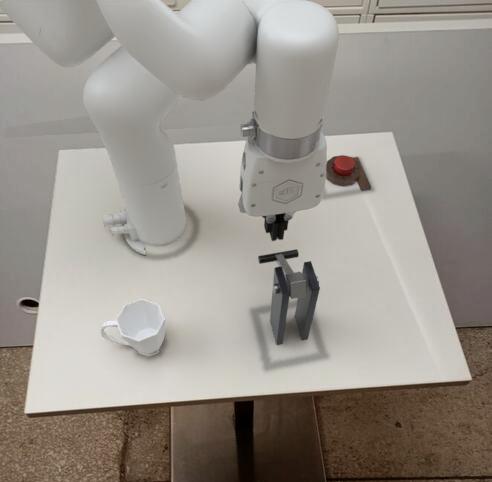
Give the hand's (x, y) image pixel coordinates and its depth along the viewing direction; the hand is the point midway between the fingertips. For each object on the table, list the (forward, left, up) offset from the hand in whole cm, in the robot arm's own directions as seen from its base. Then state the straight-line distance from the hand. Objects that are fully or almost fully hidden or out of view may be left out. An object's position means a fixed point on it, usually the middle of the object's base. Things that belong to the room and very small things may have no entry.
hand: (275, 232), depth 72 cm
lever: (0, -6, -3) cm, 7 cm away
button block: (+18, +20, -13) cm, 30 cm away
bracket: (0, -10, -13) cm, 16 cm away
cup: (-23, -7, -13) cm, 27 cm away
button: (+18, +20, -11) cm, 30 cm away
